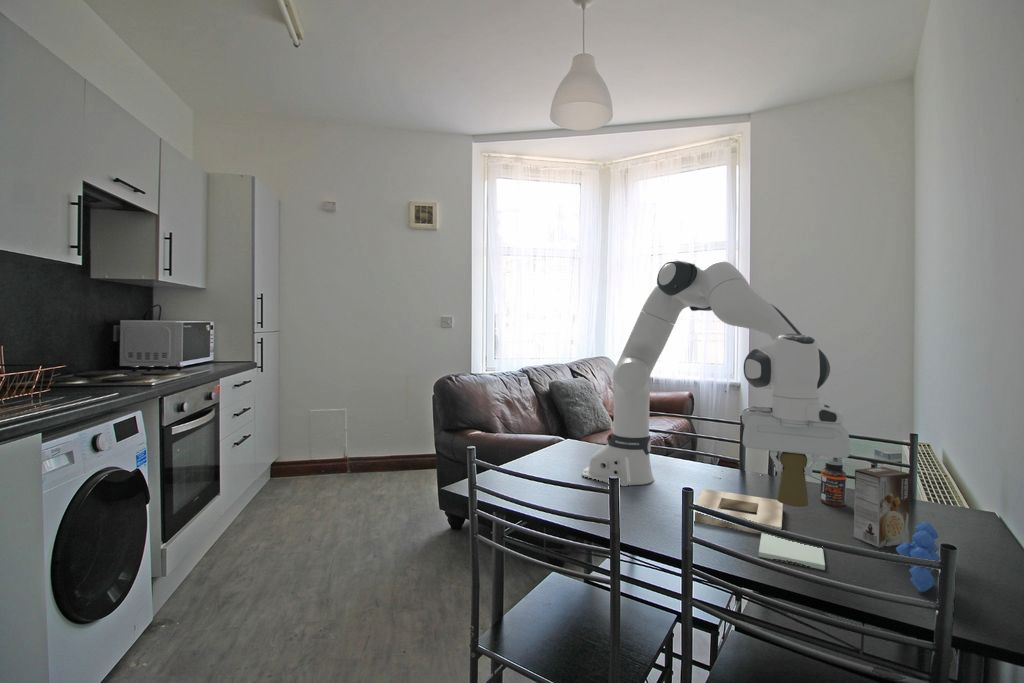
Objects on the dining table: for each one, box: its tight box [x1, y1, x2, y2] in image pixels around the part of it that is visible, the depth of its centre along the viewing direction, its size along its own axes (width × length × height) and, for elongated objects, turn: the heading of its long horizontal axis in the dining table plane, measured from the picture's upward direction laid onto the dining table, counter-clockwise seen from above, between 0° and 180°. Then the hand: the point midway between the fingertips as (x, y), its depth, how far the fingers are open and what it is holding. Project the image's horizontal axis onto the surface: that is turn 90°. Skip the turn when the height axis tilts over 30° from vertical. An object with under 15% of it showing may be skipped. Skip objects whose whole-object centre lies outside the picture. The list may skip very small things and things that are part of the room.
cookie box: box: [853, 466, 911, 548], centre depth 116 cm, size 9×6×16 cm
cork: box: [776, 452, 810, 508], centre depth 109 cm, size 6×6×11 cm
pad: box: [758, 533, 826, 571], centre depth 110 cm, size 12×12×1 cm
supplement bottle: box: [819, 460, 847, 507], centre depth 140 cm, size 6×6×11 cm
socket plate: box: [694, 488, 784, 535], centre depth 130 cm, size 20×20×2 cm
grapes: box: [895, 521, 941, 593], centre depth 96 cm, size 12×7×12 cm, turn 135°
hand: (793, 472), depth 109 cm, fingers closed on cork, 4 cm apart
